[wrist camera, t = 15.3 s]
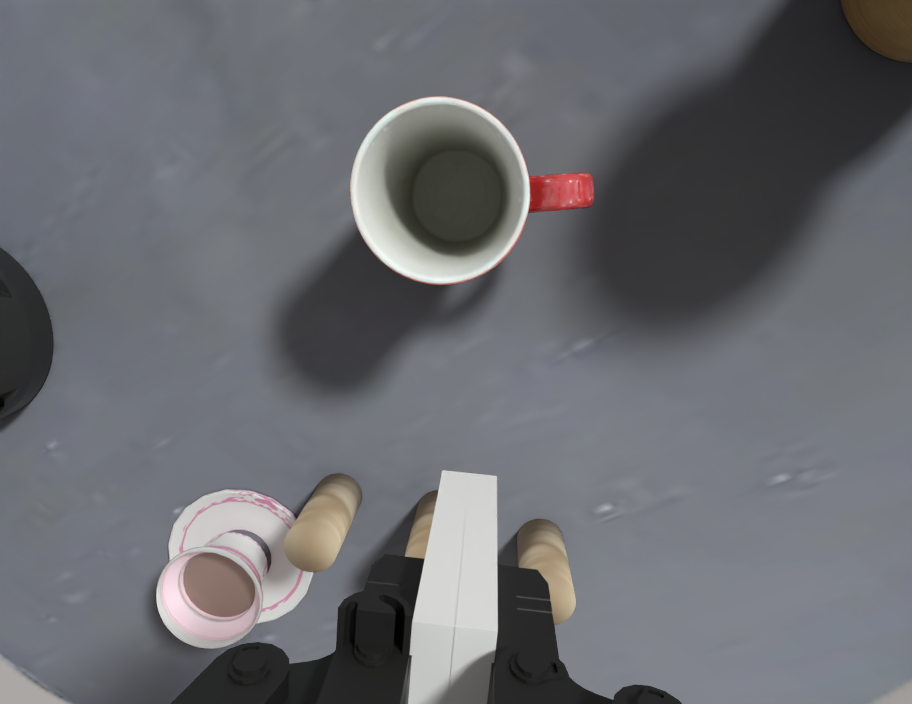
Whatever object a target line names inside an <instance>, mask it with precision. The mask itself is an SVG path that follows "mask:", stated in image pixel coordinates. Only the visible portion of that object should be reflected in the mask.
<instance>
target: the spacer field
mask: <svg viewBox="0 0 912 704" xmlns="http://www.w3.org/2000/svg"><path fill="white" fill-rule="evenodd" d="M438 491H439V490H436V491H432V492H429V493H427V494H426V495H424V496H423V497H422V498H421V500H420V501H419V503H418V507H417V511H416V514H415V518H414V522H413V526H412V530H411V534H410V537H409V541H408V545H407V549H406V553H405V557H414V558H423V559H425V556H426V551H427V546H428V541H429V536H430V531H431V526H432V521H433V516H434V511H435V506H436V501H437V496H438ZM361 501H362V492H361V489H360V486H359V485H358V483H357V482H356V481H355V480H354V479H353V478H351V477H349V476H347V475H344V474H331V475H329V476H327V477H325V478H324V479H323V480H322V481H321V482H320V483H319V485H318V487H317V488H316V490H315V491H314V493H313V494H312V496H311V497H310V499H309V501H308V502H307V504H306V505H305V507H304V508H303V510H302V512H301V513H300V515H299V516H298V518H297V519H296V521H295V523H294V524H293V526H292V527H291V529H290V530H289V532H288V534H287V535H286V537H285V540H284V551H285V554H286V557H287V558H288V560H289V561H290V562H291V563H292V564H293V565H294V566H295V567H296V568H298V569H300V570H302V571H306V572H320V571H323V570H325V569H327V568H328V567H330V566H331V565H332V563H333V562H334V561H335V559H336V556H337V554H338V552H339V550H340V548H341V545H342V543H343V541H344V539H345V537H346V534H347V532H348V530H349V528H350V526H351V523H352V521H353V519H354V517H355V515H356V512H357V510H358V508H359V506H360V504H361ZM517 550H518V565H519V568H528V569H537V570H538V571H539V572H540V573H541V575H542V576H543V577H544V579H545V580H546V581H547V582H548V585H549V592H550V601H551V606H552V614H553V620H554V625H557V624H560V623H562V622H564V621H566V620H567V619H568V618H569V617H570V616H571V615H572V613H573V611H574V609H575V605H576V598H575V593H574V589H573V584H572V579H571V574H570V569H569V564H568V559H567V555H566V550H565V545H564V540H563V535H562V532H561V530H560V529H559V527H558V526H557V525H556V524H554V523H553V522H551V521H549V520H545V519H535V520H531V521H529V522H527V523H526V524H524V525H523V526H522V527H521V529H520V530H519V532H518V535H517Z"/></svg>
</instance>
